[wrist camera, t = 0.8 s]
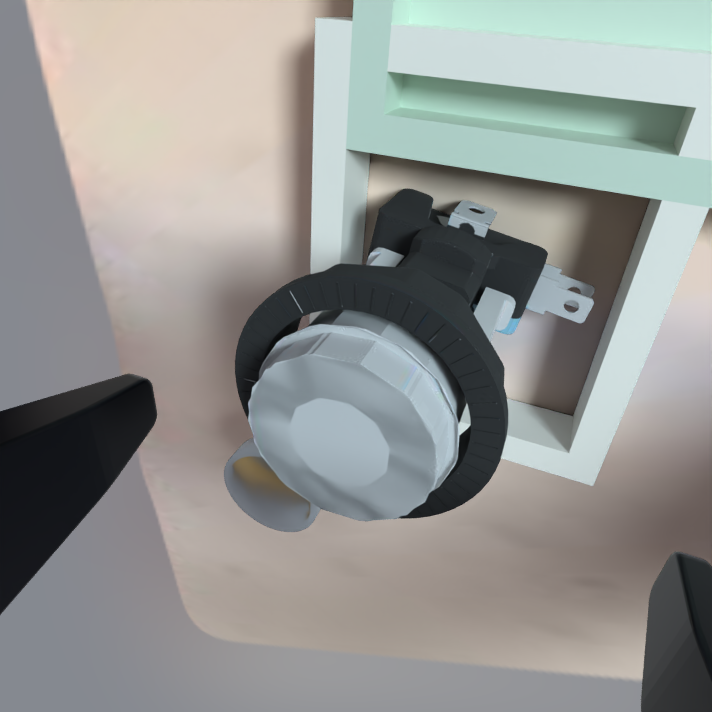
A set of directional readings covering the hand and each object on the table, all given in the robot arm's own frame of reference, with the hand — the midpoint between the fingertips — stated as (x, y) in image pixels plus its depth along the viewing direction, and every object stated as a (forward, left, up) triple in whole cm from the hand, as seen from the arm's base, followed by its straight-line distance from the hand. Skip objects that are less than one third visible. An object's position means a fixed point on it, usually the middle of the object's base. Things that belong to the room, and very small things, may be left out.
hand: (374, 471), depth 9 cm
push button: (0, 0, -10) cm, 10 cm away
